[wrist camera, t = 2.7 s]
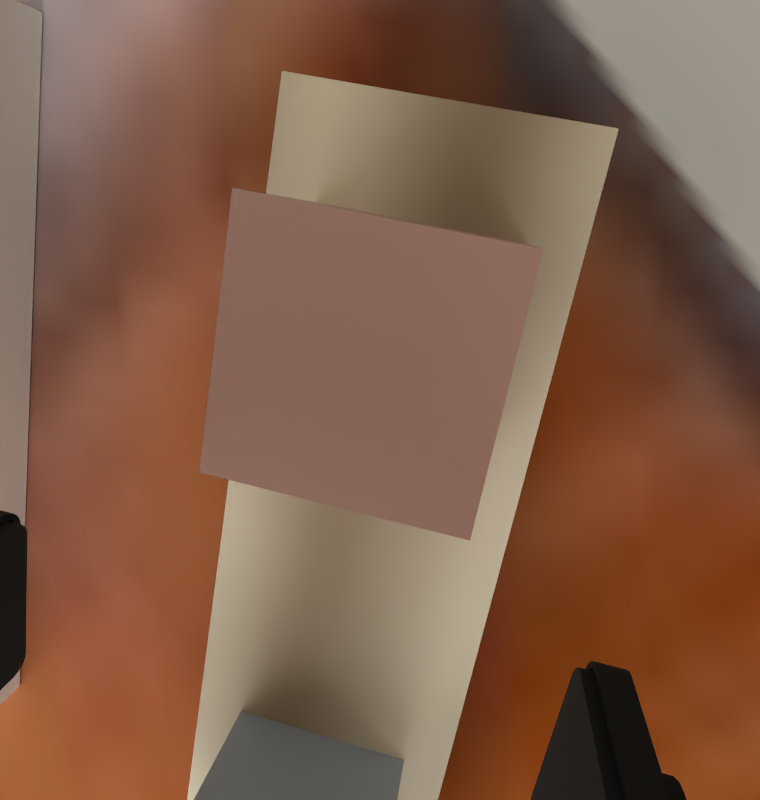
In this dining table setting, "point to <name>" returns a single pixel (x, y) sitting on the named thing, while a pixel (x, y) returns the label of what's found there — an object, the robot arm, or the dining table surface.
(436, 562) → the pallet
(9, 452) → the dock
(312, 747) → the block
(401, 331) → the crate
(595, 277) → the dining table surface
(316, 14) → the dining table surface
